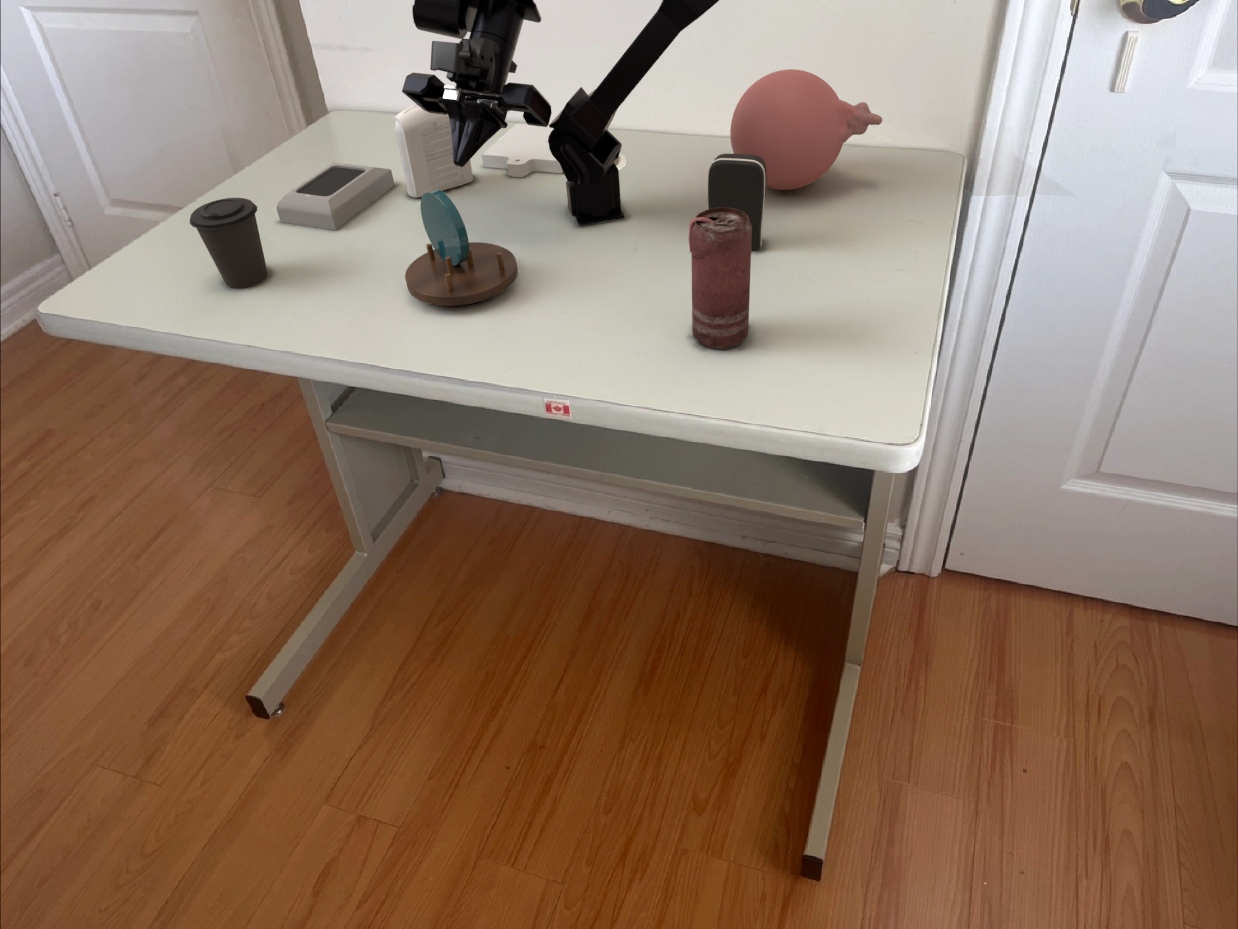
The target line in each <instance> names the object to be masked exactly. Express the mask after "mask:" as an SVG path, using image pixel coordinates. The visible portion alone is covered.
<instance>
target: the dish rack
mask: <svg viewBox="0 0 1238 929" xmlns="http://www.w3.org/2000/svg"><path fill="white" fill-rule="evenodd" d="M420 215H421V220H422V224H423V227H424V229H425V233H426V235H427V237H428V239H429V243H426V245H425V246H426V250H427V252H425V253H423V254H421V255H420V256H418V257H417V258H416V259H414V260H413V261H412V262H411V263H410V264H409V266H408V267H407V268H406V271H405V273H404V278H405V279H404V280H405V283H406V287H407V288H406V289H407V290H408V293H409V294H410V295H411V296H412V297H414V299H416V300H418V301H420V302H423V303H426V304H429V305H435V306H440V305H442V306H441V307H445V306H457V305H466V304H472V303H476V302H480V301H483V300H486V299H489V298H491V299H493V298H495V297H496V296H498V295H500V294H501V293H503V292H505V291H506V290H507V289H509V288H510V287H511V286H512V285H513V284H514V282H516V279H517V277H518V273H519V269H518V268H519V267H518V263H517V262H518V261H517V258H516V257H515V255H514V253H513V252H512V251H510V250H509V249H507V248H505V247H503V246H500V245H497V244H493V243H489V242H481V241H480V242H477V241H472V242H471V241H470V240H469V235H468V232H467V228H466V226H465V223H464V220H463V218H462V215H461V213H460V211H459V210H458V207H457V206H456V205H455V203H454V202H453V201H452V199H451V198H450V197H449V196H448V195H447V193H445V191H440V190H432V191H430V192H427V193H425V194H424V195H423V196H422V197H421V199H420ZM492 297H493V298H492ZM489 300H490V299H489Z"/></svg>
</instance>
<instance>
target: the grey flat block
mask: <svg viewBox="0 0 1238 929" xmlns="http://www.w3.org/2000/svg"><path fill="white" fill-rule="evenodd" d="M395 185H396V184H395V180H394V176H393V171H392V169H391V168H384V167H376V166H367V165H361V164H360V165H359V164H350V163H343V162H332V163H331V164H329V165H328V166H327V167H325V168H323V169H322V170H321V171H319V172H317V173H316V174H314V175H313V176H312V177H310V178H308V179H307V180H305V181H304V182H302V183H301V184H299V185H298V186H296V187H294V189H292V190H290V191H289V192H287V193H285V195H284V196H283V197H282V198H281V199H279V201H278V202H277V204H276V208H275V209H276V211H277V215H278V218H279V221H280V223H284V224H291V225H298V226H299V225H300V226H305V227H313V228H320V229H325V230H332V231H337V230H338V229H339V228H341V227H342V226H343V225H345V224H346V223H347V222H349V221H350V220H351V219H353V218H354V217H355V216H357V215H358V214H359V213H361V212H362V211H364V210H365V209H366V208H368V207H369V206H370V205H371V204H373V203H374V202H375V201H376V200H378V199H379V198H381V197H382V196H384V195H385V194H386V193H387V192H389V191H390V190H391V189H392V188H394V187H395Z"/></svg>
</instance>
